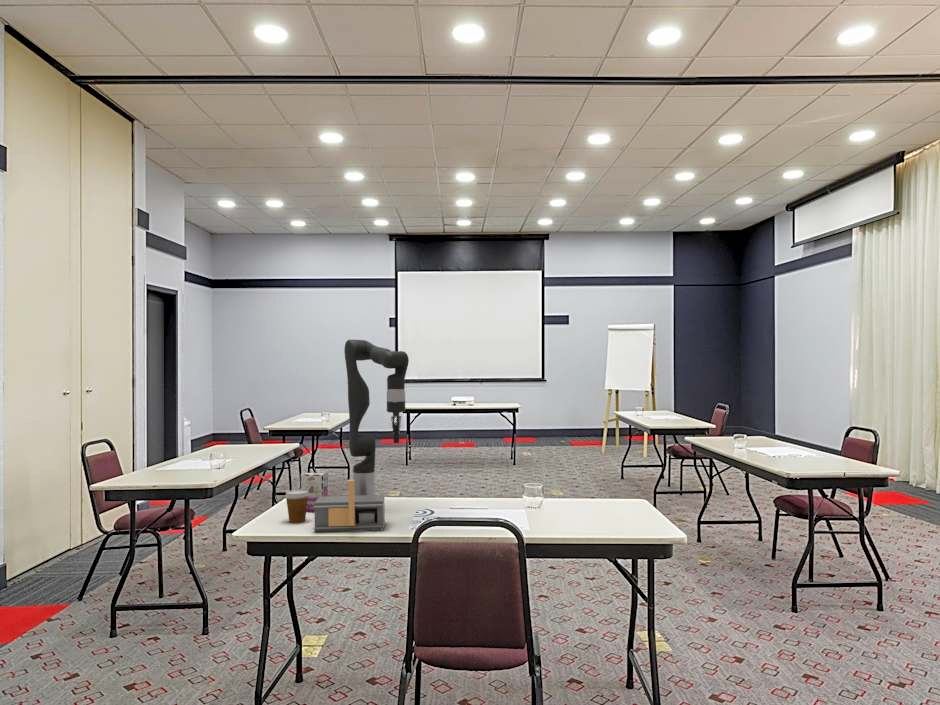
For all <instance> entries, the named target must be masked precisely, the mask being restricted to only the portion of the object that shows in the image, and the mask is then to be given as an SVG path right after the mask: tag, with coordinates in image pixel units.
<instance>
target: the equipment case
mask: <svg viewBox="0 0 940 705" xmlns="http://www.w3.org/2000/svg"><path fill="white" fill-rule="evenodd" d="M385 506H386V505H385V495H384V494H375V495H362V496H355V526H329V513H328V508H330V507H349V495H331V496H329V495H328V496H323V497H319V498H318V499H317V500H316V502H315V503H314V512H313V513H314V527H313V530H314V532H315V531H321V532H347V531H346V530H356V531H373V530H372V529H383V530H384V527H383V526H385V523H386V522H385V520H386V519H385V516H386V515H385Z"/></svg>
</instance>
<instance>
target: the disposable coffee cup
mask: <svg viewBox="0 0 940 705" xmlns="http://www.w3.org/2000/svg"><path fill="white" fill-rule="evenodd" d="M308 495H309V494H308V491H307V490H301V489H293V490H288V491H286V493H285V499H286V505H287V506H286V507H287V514H288V520H289V521H288V522H289V523H291V524H297V523H298V522H300V523H303V521H304V522H305V521H306V515H307V512H306V509H307V500H308Z"/></svg>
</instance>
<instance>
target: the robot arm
mask: <svg viewBox="0 0 940 705" xmlns="http://www.w3.org/2000/svg"><path fill="white" fill-rule="evenodd" d="M343 350H344V361H345V366H346V369H345V370H346V376H347V379H346V380H347V402H348V403H347V404H348V415H349V416H348V417H349V430H348V431H349V434H348V435H349V436H348V438H349V439H348V442H349V444H348V447H349V454H350V456H351V457H355V458H357V457H359V458H360V457H365V458H364V459H363V460H362V461H360V462H358V463H356V464H354V465H353V469H352V471H353V472H352V474H353V475H352V478H353V479H352V480H354V495H355V496H362V495H376V482H375V481H376V479H375V478H376V477H375V474H376V473H375V471H376V470H375V469H376V468H375V466H376V449H377V448H376V444H377V443H376V438H375V436H374V435H373V434H359V428H360V424H361V423H362V420H363V418H364V416H365V414H366V413H367V411H368V410H369V407H370V404H371V403H370V389H369V386H368V384H367V382H366V381H365V380H364V378H363V376H362V375H361V374H360V371H359V368H358V364H357V362H358V361H360V362H361V361H368V360H369V361H370V360H371V361H372V362H373V363H376V364H377V365H381V366H382V367H384V368H385V369H396V371H394V373H392V374H389V375H388V376H387V378H386V383H387V385H386V388H387V391H386V412H387V413H392V416H391V417H390V421H391V428H392V434H393V444H399V443H400V432H401V429H400V428H401V426H402V424H401V421H402V416H400V413H405V412H406V391H405V389H406V388H405V380H406V379H405V378H406V374H407V370H408V366H409V355H408V354H407V353H406V352H405V351H403V350H401V351H399V350H398V351H397V350H390V349H389V348H385V347H380V346H377V345H375V344H373V343H372V342H369V341H367V340H365V339H347V340H346V341H345V343H344V348H343Z"/></svg>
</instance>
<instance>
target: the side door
mask: <svg viewBox="0 0 940 705" xmlns="http://www.w3.org/2000/svg"><path fill="white" fill-rule="evenodd" d="M347 481H348V496H349V507H330V508H328V513H329V526H355V495H354V480H353V479H348V480H347Z"/></svg>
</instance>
